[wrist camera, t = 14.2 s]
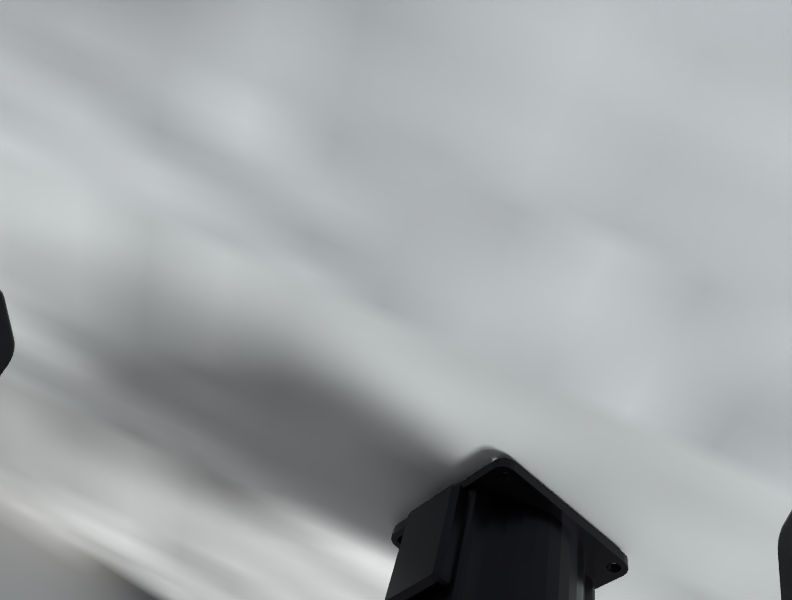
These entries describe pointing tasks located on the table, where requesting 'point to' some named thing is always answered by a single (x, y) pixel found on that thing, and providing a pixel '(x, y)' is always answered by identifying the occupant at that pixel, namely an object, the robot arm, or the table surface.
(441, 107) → the table surface
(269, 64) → the table surface
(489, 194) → the table surface
